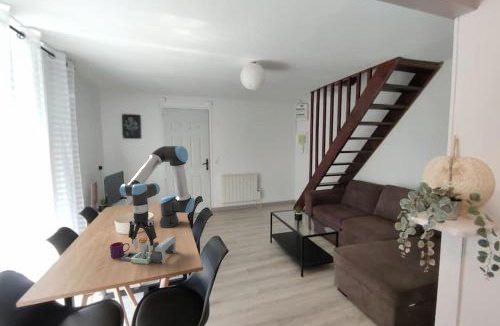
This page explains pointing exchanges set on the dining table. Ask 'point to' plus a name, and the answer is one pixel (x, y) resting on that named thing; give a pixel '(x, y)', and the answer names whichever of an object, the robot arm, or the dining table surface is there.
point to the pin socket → (126, 257)
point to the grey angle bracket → (163, 250)
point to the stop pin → (143, 248)
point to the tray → (141, 261)
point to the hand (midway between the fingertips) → (143, 250)
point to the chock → (153, 246)
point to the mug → (117, 249)
